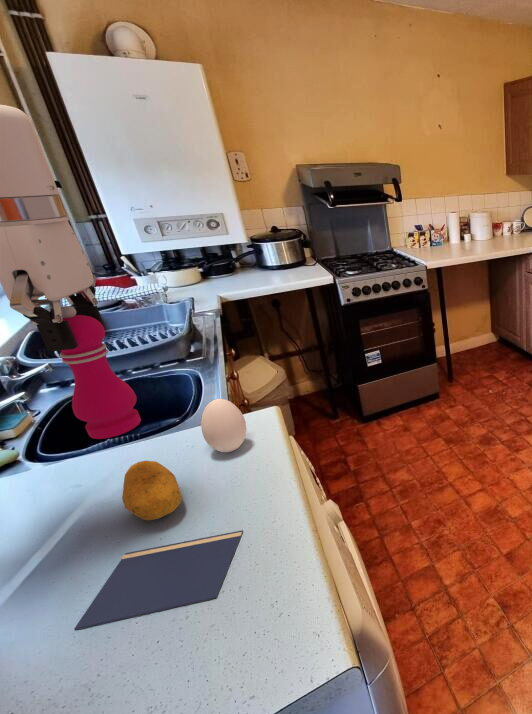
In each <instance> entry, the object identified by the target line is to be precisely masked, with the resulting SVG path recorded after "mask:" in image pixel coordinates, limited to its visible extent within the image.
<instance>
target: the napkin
mask: <svg viewBox="0 0 532 714" xmlns="http://www.w3.org/2000/svg"><path fill="white" fill-rule="evenodd" d="M243 533H244V530H243V529H241V530H237V531H236V530H235V531H231V532H226V533H221V534H217V535H210V536H207V537H201V538H196V539H189V540H186V541H181V542H176V543H171V544H165V545H161V546H154V547H151V548H145V549H139V550H135V551H130V552H126V553H124V554H123V555H122V557H121V559H120V560H119V562H118V564H117V565H116V567H115V568H114V569H113V571H112V573H111V574H110V575H109V577H108V578H107V580H106V581H105V583H104V584H103V585H102V587H101V589H100V590H99V592H98V593H97V595H95V597H94V598H93V600H92V601H91V604H90V605H89V606H88V608H87V609H86V611H85V612H84V613H83V615H82V617H81V618H80V619H79V621H78V622H77V623H76V625H75V627H74V628H73V629H74V631H78V630H79V631H80V630H83V629H88V628H92V627H96V626H101V625H105V624H109V623H114V622H119V621H123V620H127V619H131V618H135V617H140V616H145V615H151V614H153V613H157V612H159V613H160V612H162V611H167V610H171V609H176V608H180V607H181V608H182V607H186V606H190V605H194V604H198V603H201V602H202V603H203V602H207V601H211V600H216V599H217V598H218V596H219V594H220V591H221V589H222V586H223V583H224V582H225V580H226V579H225V578H226V576H227V575H228V574H227V573H228V570H229V569H230V567H231V566H230V565H231V563H232V561H233V558H234V555H235V553H236V551H237V548H238V546H239V543H240V541H241V538H242V535H243Z"/></svg>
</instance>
